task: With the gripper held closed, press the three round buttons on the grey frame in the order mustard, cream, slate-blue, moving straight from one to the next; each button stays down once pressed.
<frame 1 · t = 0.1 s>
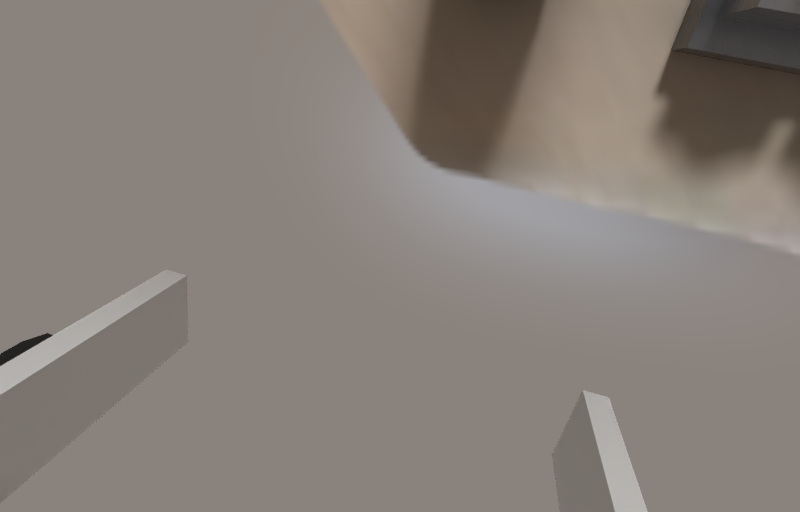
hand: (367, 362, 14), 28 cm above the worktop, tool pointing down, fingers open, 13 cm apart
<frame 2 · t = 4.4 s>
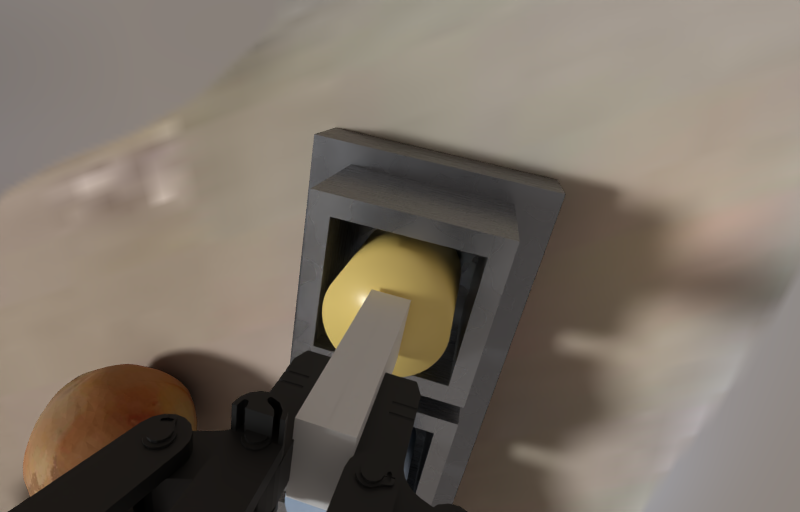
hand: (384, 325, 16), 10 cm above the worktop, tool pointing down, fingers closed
onion: (169, 389, 34), on the worktop
grey frame: (394, 362, 29), on the worktop
mustard button: (398, 293, 19), point 7 cm above the worktop, slide at 1.7 cm
slate button: (356, 468, 21), point 8 cm above the worktop, slide at 0.0 cm
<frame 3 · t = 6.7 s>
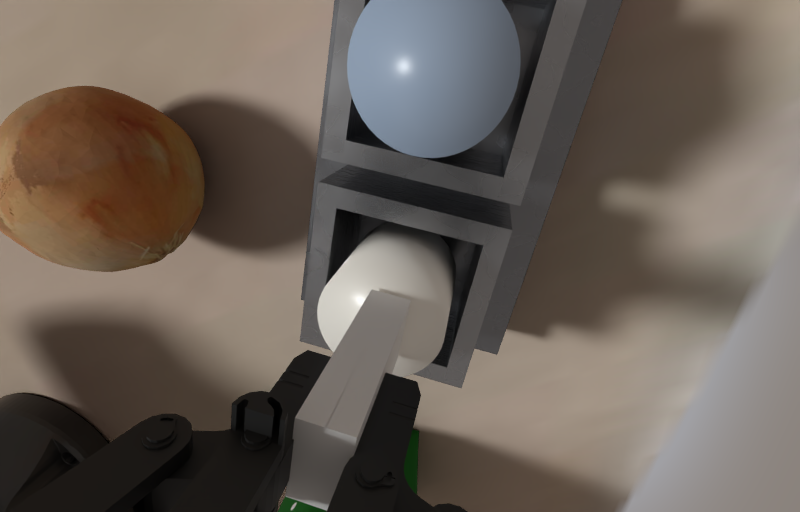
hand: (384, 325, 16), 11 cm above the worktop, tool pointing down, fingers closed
milk carton: (371, 451, 34), on the worktop
onion: (169, 166, 28), on the worktop
cream button: (393, 293, 19), point 8 cm above the worktop, slide at 0.3 cm, touching gripper
grey frame: (458, 73, 22), on the worktop
slate button: (440, 71, 15), point 8 cm above the worktop, slide at 0.0 cm
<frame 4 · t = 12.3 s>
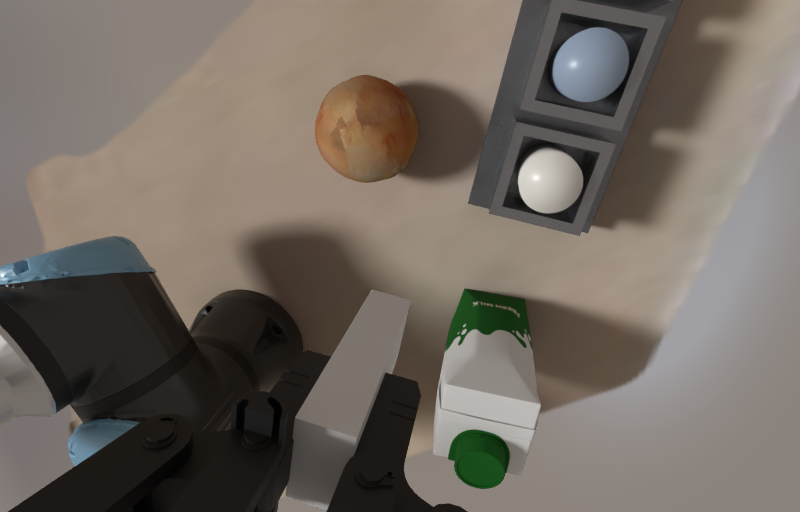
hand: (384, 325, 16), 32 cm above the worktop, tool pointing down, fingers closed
milk carton: (489, 318, 52), on the worktop
onion: (380, 125, 46), on the worktop
cream button: (547, 177, 38), point 7 cm above the worktop, slide at 1.8 cm
grey frame: (572, 67, 40), on the worktop
slate button: (585, 66, 34), point 7 cm above the worktop, slide at 1.8 cm
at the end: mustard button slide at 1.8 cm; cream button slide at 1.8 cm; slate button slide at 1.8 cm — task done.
